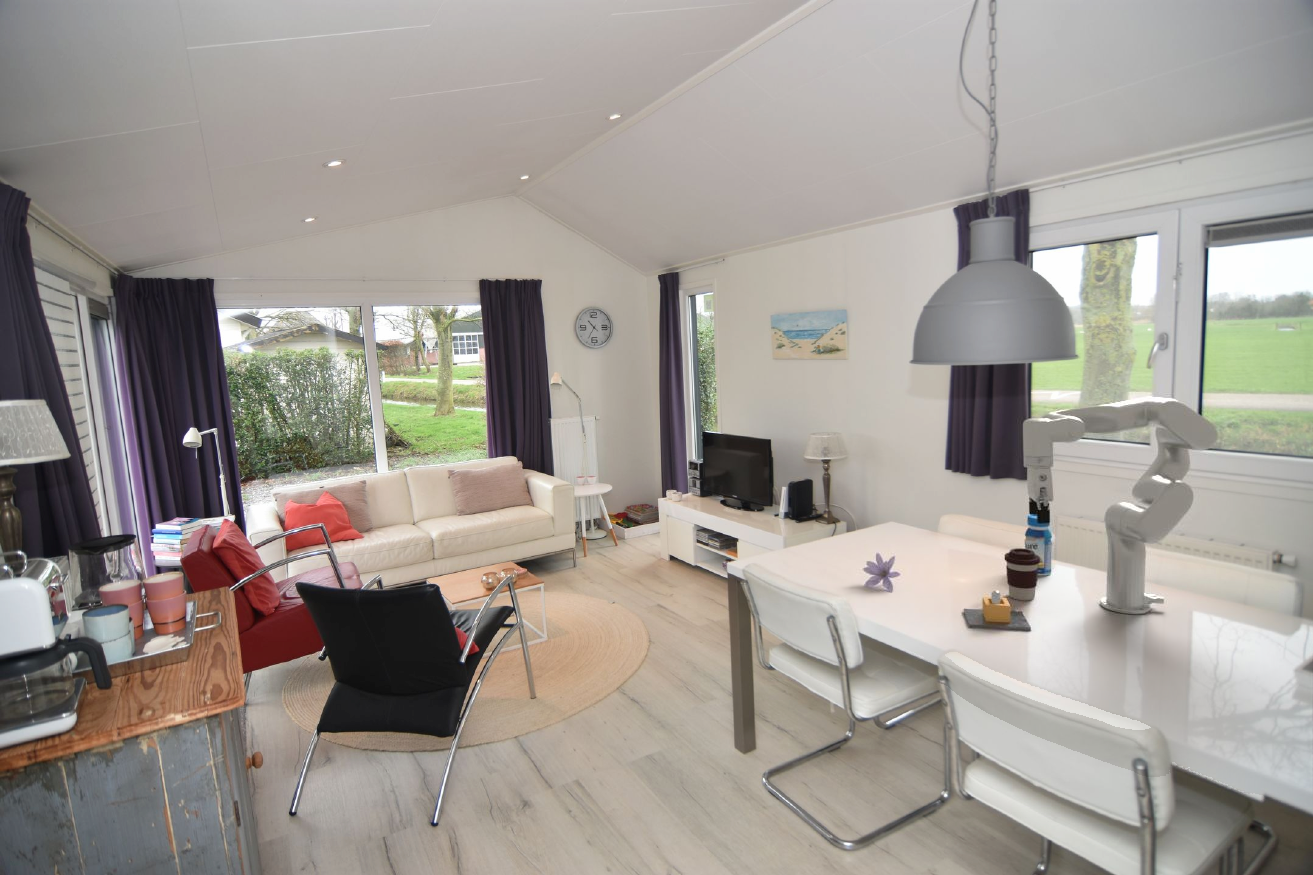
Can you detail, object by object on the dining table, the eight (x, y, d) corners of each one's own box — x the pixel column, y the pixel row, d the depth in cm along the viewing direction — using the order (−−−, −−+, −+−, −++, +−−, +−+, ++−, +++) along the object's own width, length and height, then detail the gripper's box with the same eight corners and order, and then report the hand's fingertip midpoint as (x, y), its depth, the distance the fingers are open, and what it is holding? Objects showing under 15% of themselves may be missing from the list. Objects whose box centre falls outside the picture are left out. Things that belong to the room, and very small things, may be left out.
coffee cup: (1044, 602, 218) (1044, 556, 216) (1009, 602, 220) (1009, 555, 218) (1033, 591, 227) (1034, 546, 225) (1000, 591, 229) (1000, 546, 227)
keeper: (1021, 614, 210) (1021, 584, 209) (1030, 630, 199) (1031, 599, 197) (963, 611, 215) (963, 582, 213) (969, 627, 203) (969, 596, 202)
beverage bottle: (1056, 575, 240) (1057, 518, 237) (1031, 576, 240) (1032, 519, 238) (1043, 567, 248) (1044, 512, 246) (1019, 569, 249) (1020, 513, 246)
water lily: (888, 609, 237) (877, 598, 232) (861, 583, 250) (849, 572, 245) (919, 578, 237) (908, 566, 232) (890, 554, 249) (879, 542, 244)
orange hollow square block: (1005, 613, 209) (1006, 597, 208) (1010, 622, 203) (1010, 605, 202) (982, 612, 210) (982, 596, 210) (986, 621, 204) (986, 604, 204)
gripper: (1061, 466, 194) (1061, 526, 196) (1045, 455, 210) (1046, 510, 213) (1030, 467, 196) (1032, 526, 198) (1017, 456, 213) (1018, 511, 215)
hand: (1039, 518), depth 206 cm, fingers open, 9 cm apart
